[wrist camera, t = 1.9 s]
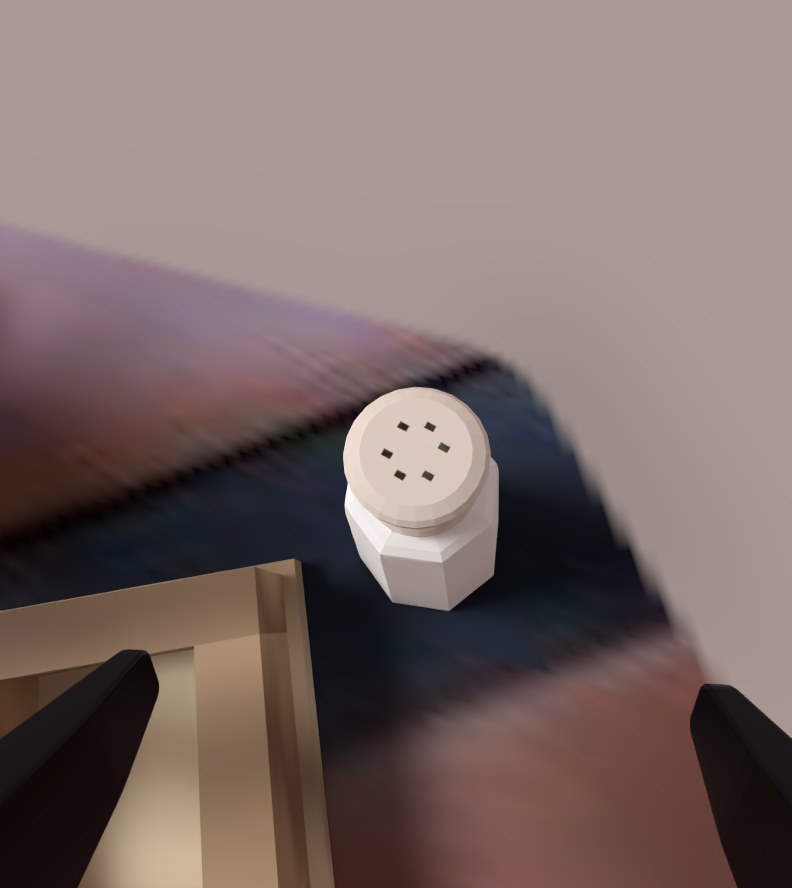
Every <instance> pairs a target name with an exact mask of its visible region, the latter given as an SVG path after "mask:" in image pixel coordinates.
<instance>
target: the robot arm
mask: <svg viewBox="0 0 792 888" xmlns="http://www.w3.org/2000/svg"><path fill="white" fill-rule="evenodd" d="M158 694H159V681H158V677H157V674H156V671H155V668H154V665H153V662H152V659H151V656H150V654H149V653H148V652H147V651H145V650H133V649H125V650H122V651H120V652H118V653H117V654H115V655H114V656H113V657H111V658H110V659H108V660H107V661H106V662H104V663H103V664H102V665H100V666H99V667H98V668H96V669H95V670H93V671H92V672H91V673H89V674H88V675H87V676H85V677H84V678H83V679H81V680H80V681H78V682H77V683H76V684H74V685H73V686H72V687H70V688H69V689H68V690H66V691H65V692H63V693H62V694H61V695H59V696H58V697H57V698H55V699H54V700H53V701H51V702H50V703H48V704H47V705H46V706H44V707H43V708H42V709H40V710H39V711H38V712H36V713H35V714H33V715H32V716H31V717H29V718H28V719H27V720H25V721H24V722H23V723H21V724H20V725H18V726H17V727H16V728H14V729H13V730H12V731H10V732H9V733H8V734H6V735H5V736H3V737H2V738H1V739H0V888H78V886H79V884H80V882H81V880H82V878H83V876H84V873H85V871H86V869H87V867H88V865H89V863H90V861H91V859H92V856H93V854H94V852H95V850H96V848H97V846H98V844H99V842H100V840H101V837H102V835H103V833H104V831H105V829H106V827H107V825H108V823H109V821H110V818H111V816H112V814H113V812H114V810H115V808H116V806H117V803H118V801H119V799H120V797H121V795H122V792H123V790H124V787H125V785H126V782H127V780H128V777H129V775H130V772H131V769H132V766H133V764H134V761H135V758H136V756H137V753H138V750H139V747H140V745H141V742H142V739H143V736H144V734H145V731H146V728H147V725H148V723H149V720H150V717H151V714H152V712H153V709H154V706H155V704H156V701H157V698H158ZM690 730H691V735H692V739H693V743H694V746H695V750H696V754H697V757H698V761H699V765H700V769H701V772H702V776H703V780H704V783H705V787H706V791H707V794H708V798H709V802H710V805H711V809H712V813H713V816H714V820H715V824H716V827H717V831H718V834H719V837H720V841H721V844H722V847H723V850H724V853H725V855H726V858H727V861H728V864H729V866H730V869H731V872H732V874H733V877H734V880H735V882H736V885H737V888H792V738H791V737H789V736H788V735H787V734H786V733H785V732H784V731H783V730H782V729H781V728H779V727H778V726H777V725H776V724H775V723H774V722H773V721H771V719H769V718H768V717H767V716H766V715H765V714H764V713H763V712H762V711H761V710H759V709H758V708H757V707H756V706H755V705H754V704H753V703H752V702H751V701H749V700H748V699H747V698H746V697H745V696H744V695H743V694H742V693H741V692H739V691H738V690H737V689H736V688H734V687H732V686H730V685H721V684H704V685H703V686H702V687H701V688H700V691H699V693H698V696H697V699H696V702H695V705H694V708H693V711H692V714H691V718H690Z"/></svg>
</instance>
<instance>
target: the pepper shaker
mask: <svg viewBox="0 0 792 888" xmlns="http://www.w3.org/2000/svg"><path fill="white" fill-rule="evenodd" d="M343 460H344V471H345V476H346V478H347V481H348V487H347V492H346V499H345V513H346V516H347V519H348V522H349V525H350V528H351V531H352V534H353V537H354V540H355V543H356V546H357V549H358V552H359V555H360V557H361V559H362V560H363V562H364V563H365V564H366V566H367V567H368V569H369V570H370V571H371V573H372V574H373V576H374V577H375V578H376V580H377V581H378V583H379V584H380V585H381V587H382V588H383V590H384V591H385V592H386V594H387V595H388V597H389V598H390V599H391V601H392V602H393V603H400V604H407V605H413V606H420V607H427V608H433V609H440V610H447V611H450V610H451V609H452V608H453V607H455V606H456V605H457V604H458V603H460V602H461V601H462V600H463V599H465V598H466V597H467V596H468V595H470V594H471V593H472V592H473V591H475V590H476V589H477V588H478V587H480V586H481V585H482V584H483V583H485V582H486V581H487V580H488V579H490V578H491V577H492V576H493V575H494V565H495V554H496V542H497V530H498V508H499V471H498V467H497V464H496V463H495V461H494V460H493V459H492V458H491V452H490V447H489V441H488V436H487V434H486V432H485V430H484V427H483V425H482V423H481V421H480V419H479V418H478V417H477V416H476V415H475V413H474V412H473V411H472V410H471V409H470V408H469V407H468V406H467V405H466V404H465V403H463V402H462V401H460V400H459V399H457V398H456V397H454V396H453V395H451V394H448V393H445V392H442V391H439V390H436V389H431V388H421V387H413V388H406V389H399V390H396V391H393V392H391V393H388V394H386V395H383V396H381V397H379V398H378V399H377V400H375V401H374V402H373V403H371V404H370V405H368V406H367V407H366V408H365V409H364V410H363V411H362V413H361V414H360V415H359V416H358V417H357V418H356V420H355V421H354V423H353V425H352V427H351V429H350V431H349V433H348V435H347V437H346V443H345V448H344V453H343Z"/></svg>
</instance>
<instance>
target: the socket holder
mask: <svg viewBox="0 0 792 888" xmlns="http://www.w3.org/2000/svg"><path fill="white" fill-rule="evenodd" d="M125 649H133V650H145V651H147V652H148V653H149V654H150V656H151V659H152V662H153V665H154V668H155V671H156V674H157V677H158V681H159V694H158V698H157V701H156V704H155V706H154V709H153V712H152V714H151V717H150V720H149V723H148V725H147V728H146V731H145V734H144V736H143V739H142V742H141V745H140V747H139V750H138V753H137V756H136V758H135V761H134V764H133V766H132V769H131V772H130V775H129V777H128V780H127V782H126V785H125V787H124V790H123V792H122V795H121V797H120V799H119V801H118V803H117V806H116V808H115V810H114V812H113V814H112V816H111V818H110V821H109V823H108V825H107V827H106V829H105V831H104V833H103V835H102V837H101V840H100V842H99V844H98V846H97V848H96V850H95V852H94V854H93V856H92V859H91V861H90V863H89V865H88V867H87V869H86V871H85V873H84V876H83V878H82V880H81V882H80V884H79V886H78V888H335V885H334V876H333V866H332V856H331V847H330V837H329V827H328V818H327V808H326V798H325V789H324V779H323V770H322V760H321V750H320V741H319V731H318V721H317V712H316V702H315V692H314V683H313V673H312V664H311V654H310V644H309V635H308V625H307V615H306V606H305V596H304V586H303V577H302V567H301V561H298V560H296V559H289V560H284V561H278V562H273V563H267V564H261V565H256V566H250V567H245V568H239V569H234V570H228V571H222V572H217V573H211V574H206V575H200V576H194V577H189V578H183V579H178V580H172V581H166V582H161V583H155V584H150V585H144V586H139V587H133V588H127V589H122V590H116V591H111V592H105V593H99V594H94V595H88V596H83V597H77V598H72V599H66V600H60V601H55V602H49V603H44V604H38V605H32V606H27V607H21V608H16V609H10V610H4V611H0V739H1V738H2V737H3V736H5V735H6V734H8V733H9V732H10V731H12V730H13V729H14V728H16V727H17V726H18V725H20V724H21V723H23V722H24V721H25V720H27V719H28V718H29V717H31V716H32V715H33V714H35V713H36V712H38V711H39V710H40V709H42V708H43V707H44V706H46V705H47V704H48V703H50V702H51V701H53V700H54V699H55V698H57V697H58V696H59V695H61V694H62V693H63V692H65V691H66V690H68V689H69V688H70V687H72V686H73V685H74V684H76V683H77V682H78V681H80V680H81V679H83V678H84V677H85V676H87V675H88V674H89V673H91V672H92V671H93V670H95V669H96V668H98V667H99V666H100V665H102V664H103V663H104V662H106V661H107V660H108V659H110V658H111V657H113V656H114V655H115V654H117V653H118V652H120V651H122V650H125Z"/></svg>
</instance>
